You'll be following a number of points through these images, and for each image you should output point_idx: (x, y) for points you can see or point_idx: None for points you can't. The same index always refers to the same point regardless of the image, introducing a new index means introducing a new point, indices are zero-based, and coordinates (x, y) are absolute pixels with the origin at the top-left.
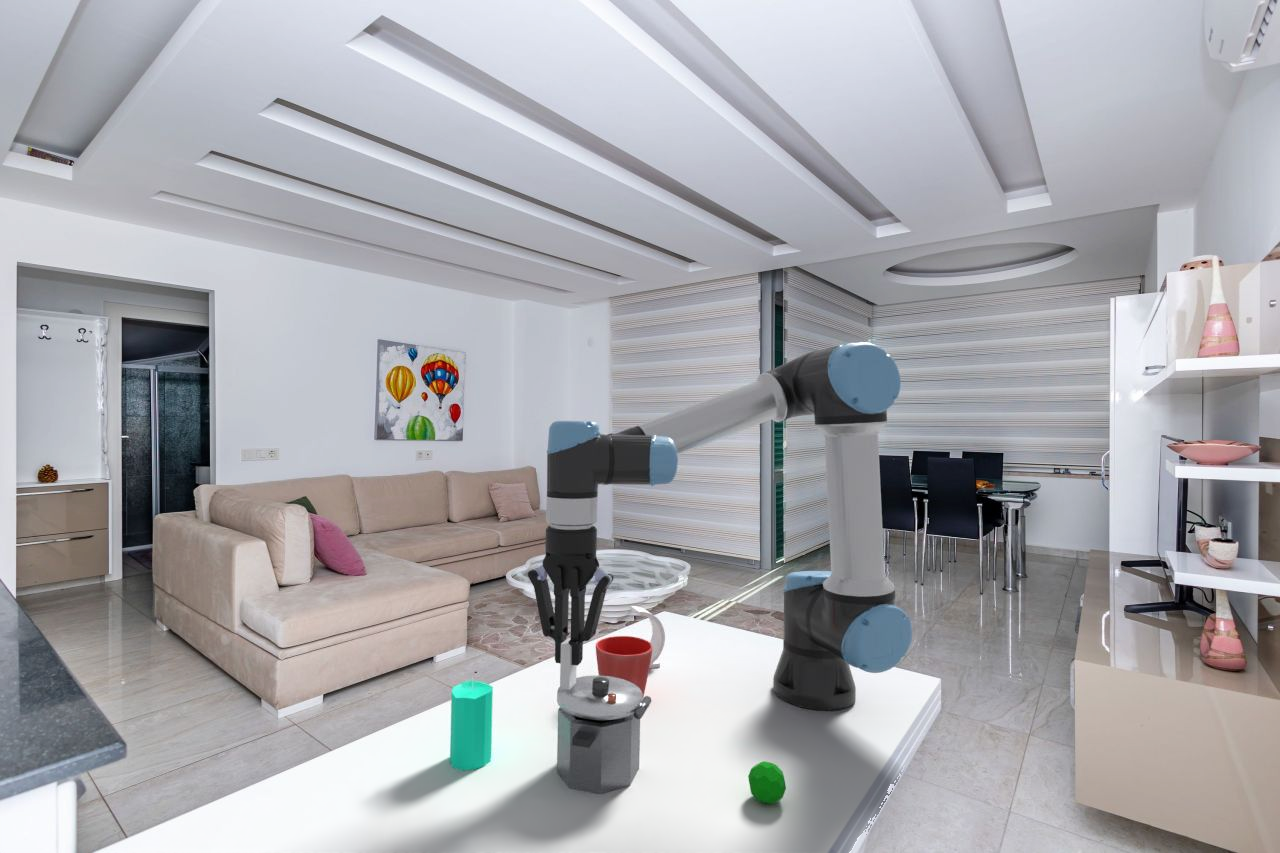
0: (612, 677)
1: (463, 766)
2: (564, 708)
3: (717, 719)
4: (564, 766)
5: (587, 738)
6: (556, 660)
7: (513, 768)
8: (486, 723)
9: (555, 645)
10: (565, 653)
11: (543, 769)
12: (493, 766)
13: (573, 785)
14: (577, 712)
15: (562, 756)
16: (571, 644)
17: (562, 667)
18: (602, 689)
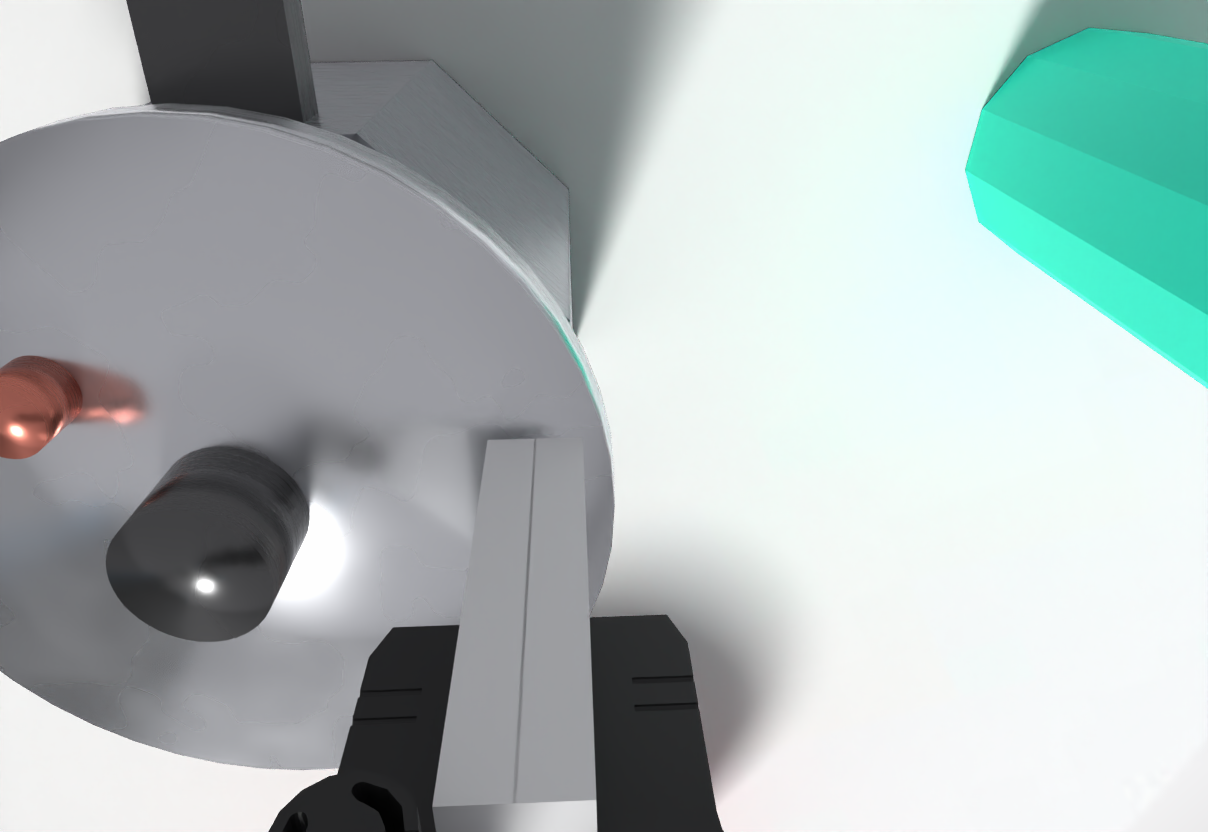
0: (304, 761)
1: (1098, 32)
2: (414, 179)
3: (80, 817)
4: (482, 130)
5: (157, 21)
6: (664, 634)
7: (812, 144)
8: (1101, 180)
9: (707, 787)
10: (520, 692)
11: (649, 190)
12: (929, 126)
13: (403, 62)
14: (235, 118)
15: (505, 164)
16: (381, 798)
17: (561, 564)
18: (154, 492)
